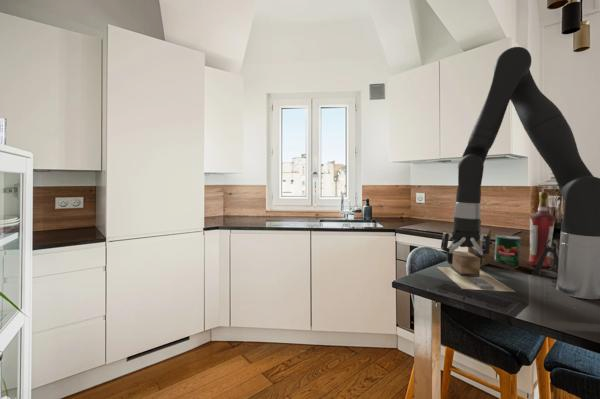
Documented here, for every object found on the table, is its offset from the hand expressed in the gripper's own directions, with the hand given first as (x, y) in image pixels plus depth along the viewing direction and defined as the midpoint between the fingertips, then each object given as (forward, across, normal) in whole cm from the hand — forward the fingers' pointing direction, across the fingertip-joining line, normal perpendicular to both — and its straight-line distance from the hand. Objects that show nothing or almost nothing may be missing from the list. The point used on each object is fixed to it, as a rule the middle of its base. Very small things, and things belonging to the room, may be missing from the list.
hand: (463, 264), depth 101 cm
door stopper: (+4, +30, +6) cm, 31 cm away
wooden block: (+4, +9, +11) cm, 15 cm away
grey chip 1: (+3, 0, -11) cm, 11 cm away
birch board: (+4, 0, -6) cm, 7 cm away
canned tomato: (+4, +22, +17) cm, 28 cm away
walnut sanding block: (+3, 0, 0) cm, 3 cm away
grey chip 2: (+2, 0, -14) cm, 14 cm away
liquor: (+4, +34, +18) cm, 39 cm away
